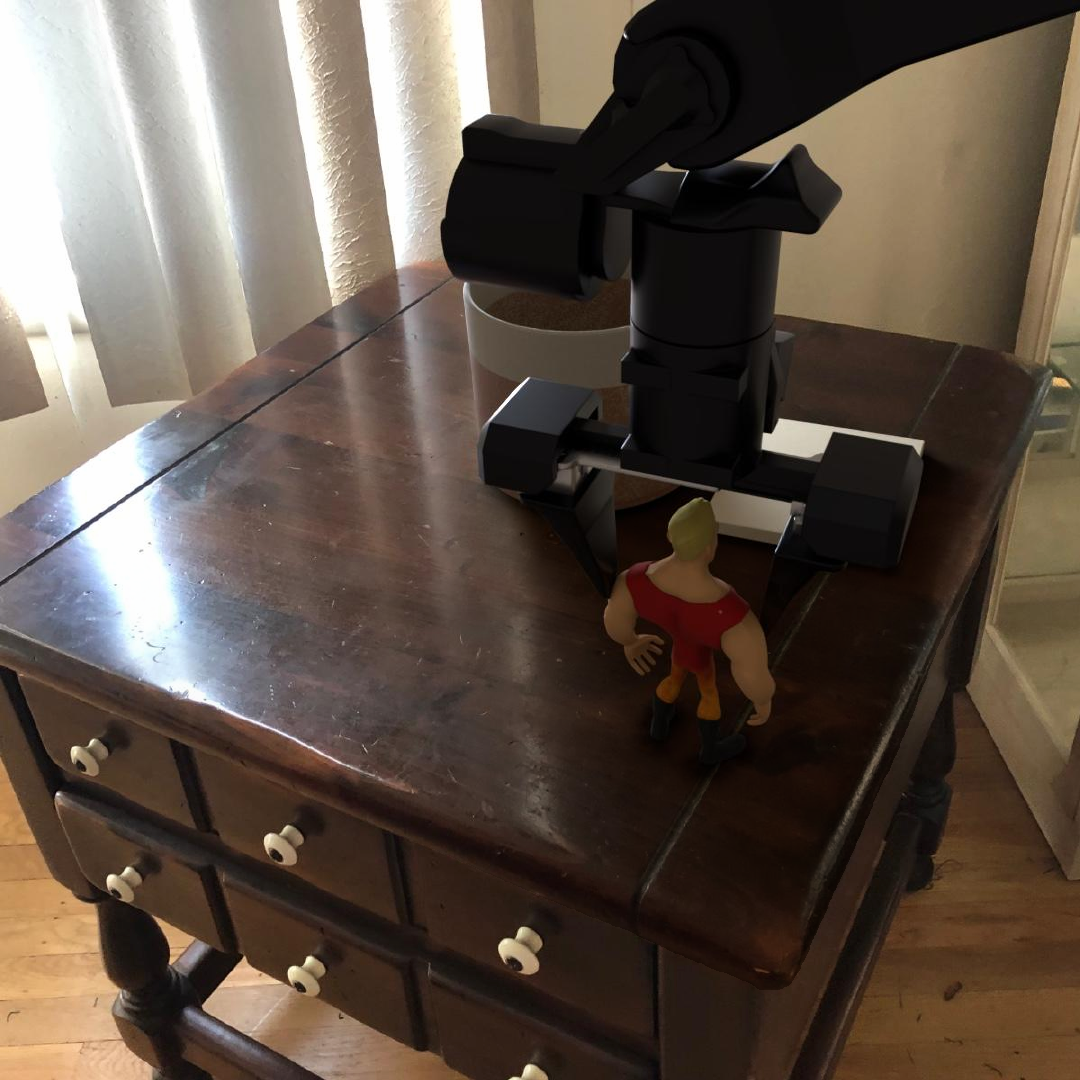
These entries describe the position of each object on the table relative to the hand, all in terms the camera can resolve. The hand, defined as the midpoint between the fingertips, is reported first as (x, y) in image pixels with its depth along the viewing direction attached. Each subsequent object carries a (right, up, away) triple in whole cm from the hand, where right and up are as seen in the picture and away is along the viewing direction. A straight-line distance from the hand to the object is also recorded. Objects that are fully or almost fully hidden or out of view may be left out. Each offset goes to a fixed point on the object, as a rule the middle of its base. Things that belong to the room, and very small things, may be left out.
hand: (685, 612), depth 56 cm
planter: (-3, +9, +28) cm, 29 cm away
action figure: (+1, -7, +5) cm, 9 cm away
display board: (+12, +7, +23) cm, 26 cm away
